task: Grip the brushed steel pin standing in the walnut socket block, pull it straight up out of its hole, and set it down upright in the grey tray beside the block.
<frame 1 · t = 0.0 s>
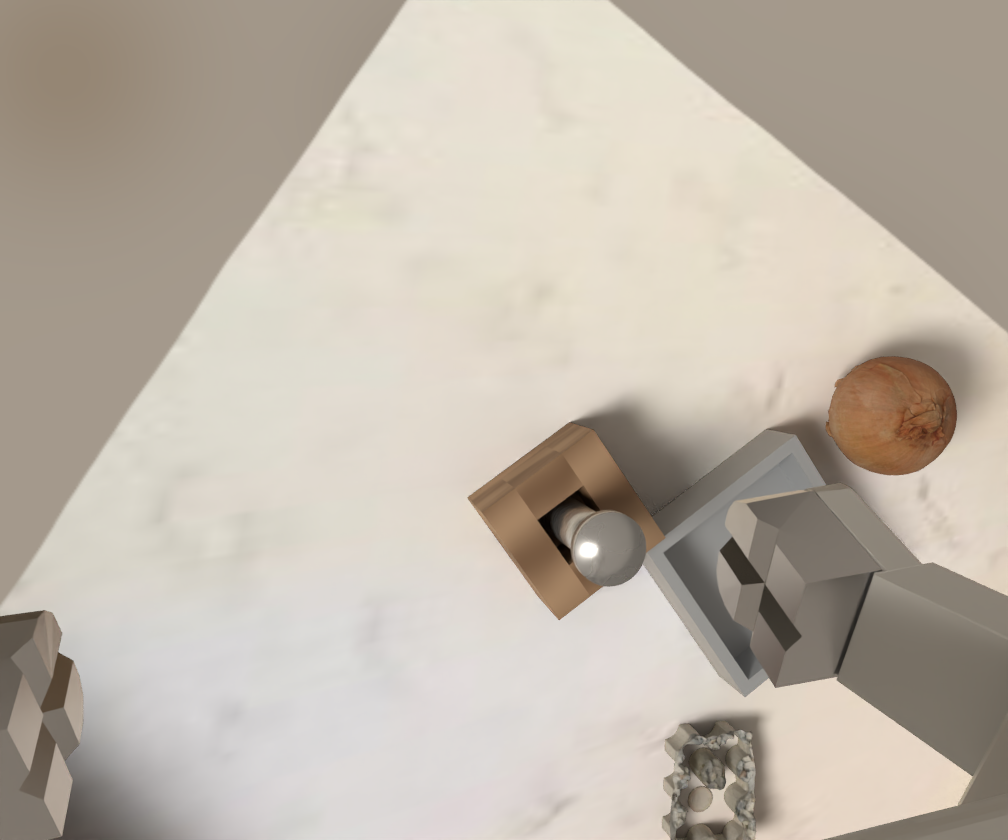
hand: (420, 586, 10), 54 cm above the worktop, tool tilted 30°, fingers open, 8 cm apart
onion: (852, 410, 73), on the worktop
grey tray: (742, 553, 72), on the worktop
egg carton: (696, 777, 73), on the worktop
socket block: (553, 509, 68), on the worktop
steel pin: (559, 513, 66), point 1 cm above the worktop, touching socket block
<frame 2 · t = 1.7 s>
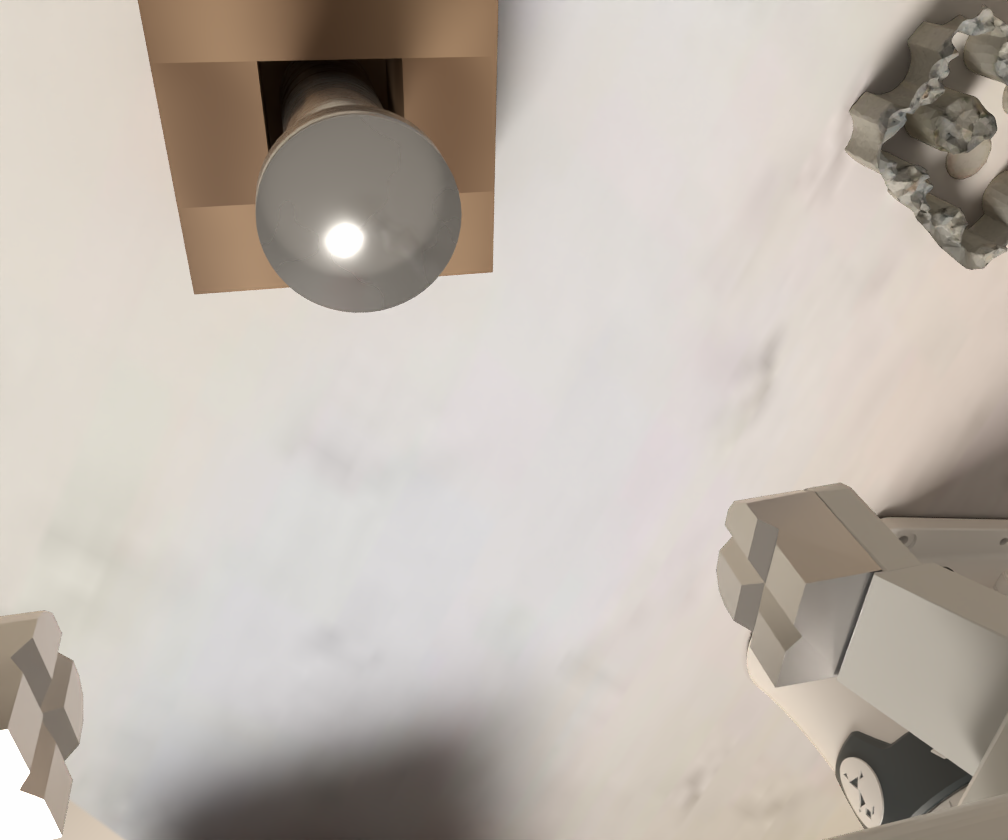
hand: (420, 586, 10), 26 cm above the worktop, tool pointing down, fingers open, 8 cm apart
egg carton: (939, 134, 39), on the worktop
socket block: (324, 87, 31), on the worktop
steel pin: (326, 97, 30), point 2 cm above the worktop, touching socket block
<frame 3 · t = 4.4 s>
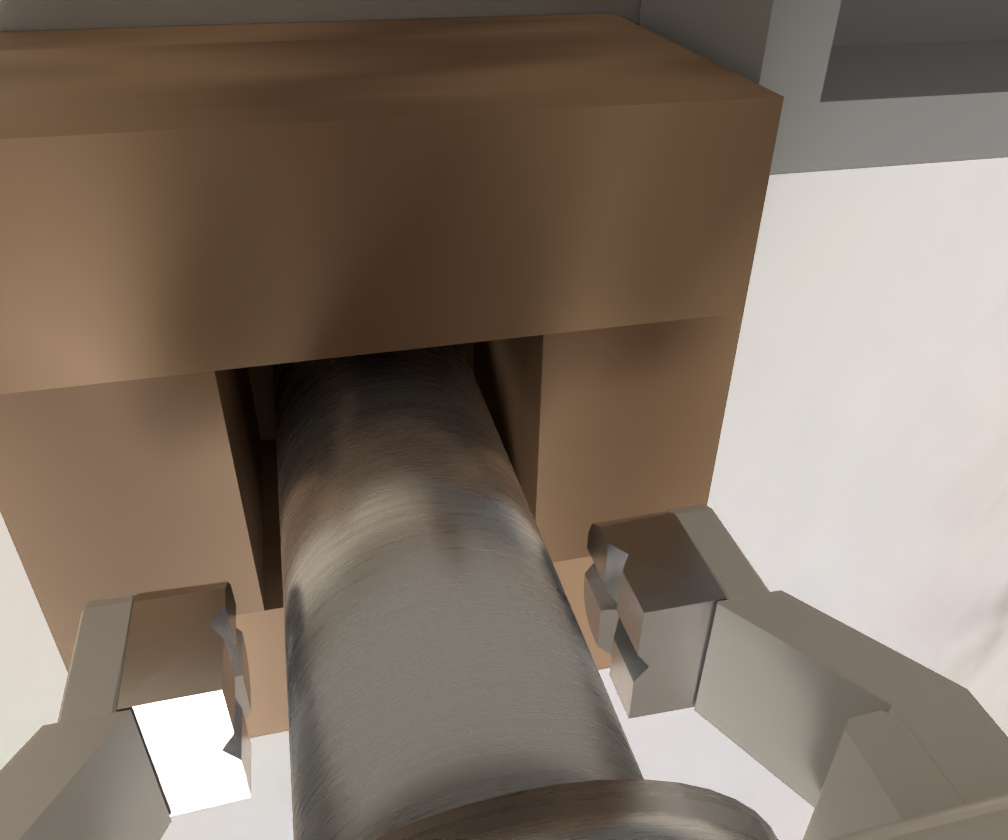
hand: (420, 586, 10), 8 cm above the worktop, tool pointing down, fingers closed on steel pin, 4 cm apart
socket block: (353, 296, 17), on the worktop
steel pin: (361, 332, 16), point 2 cm above the worktop, touching gripper, socket block
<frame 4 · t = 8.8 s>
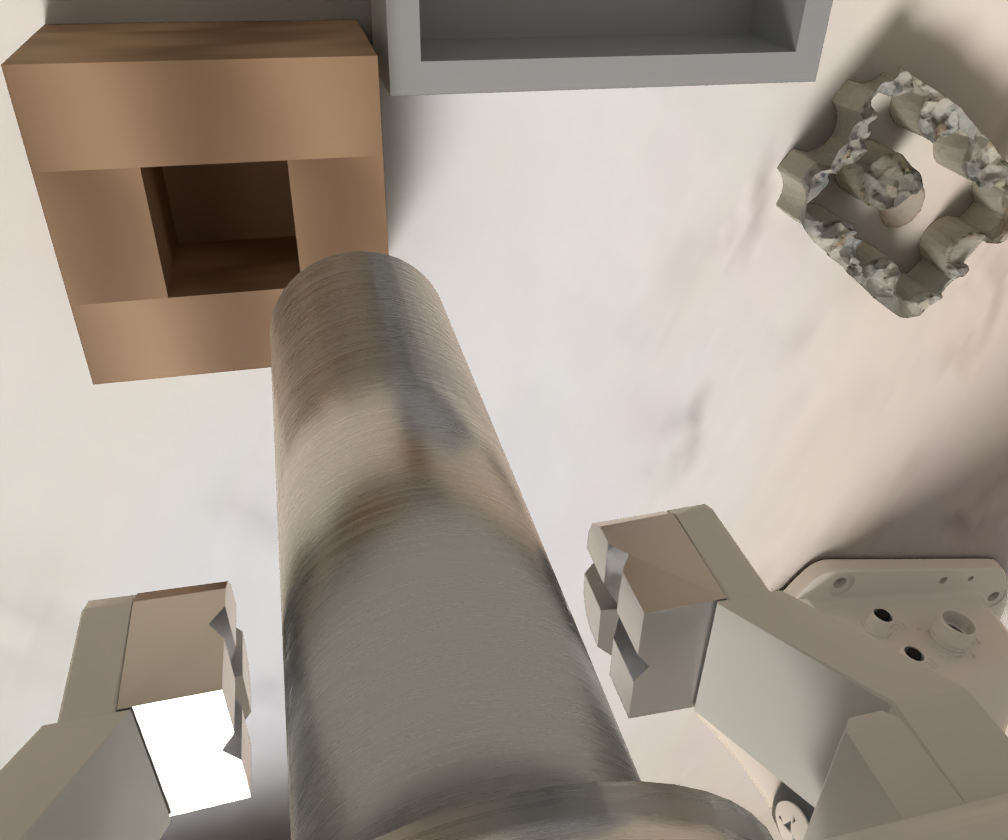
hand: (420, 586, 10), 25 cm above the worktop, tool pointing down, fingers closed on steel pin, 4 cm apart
egg carton: (872, 185, 39), on the worktop
socket block: (229, 170, 31), on the worktop
steel pin: (360, 333, 16), point 19 cm above the worktop, touching gripper
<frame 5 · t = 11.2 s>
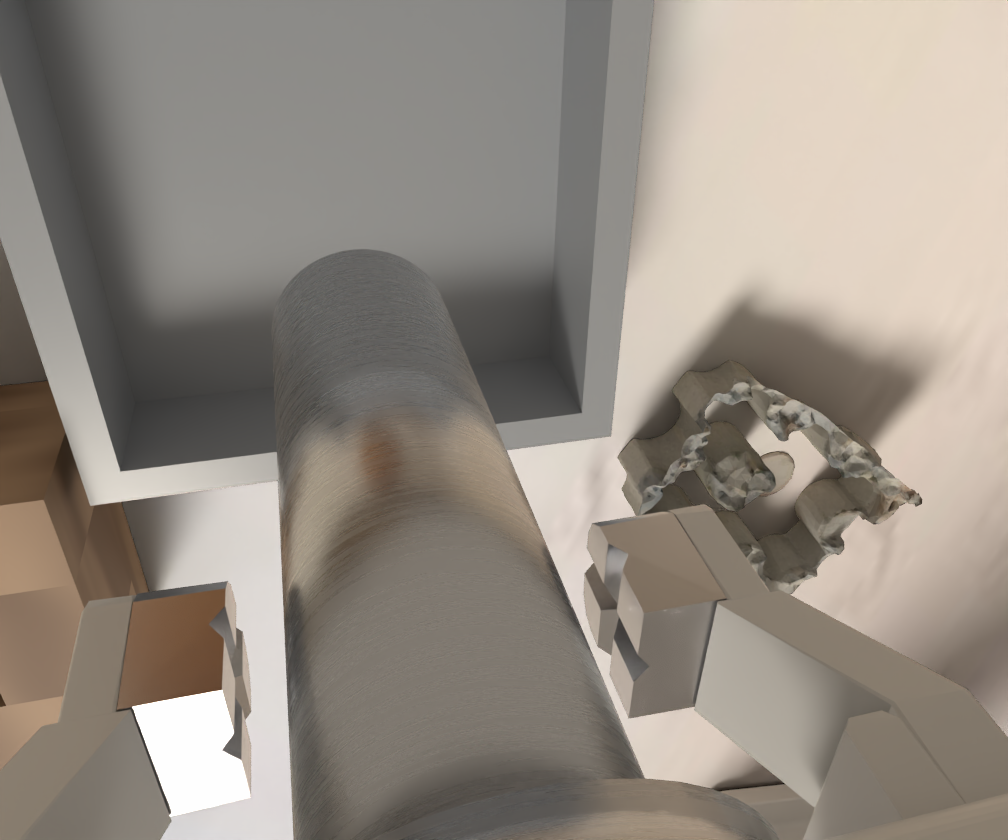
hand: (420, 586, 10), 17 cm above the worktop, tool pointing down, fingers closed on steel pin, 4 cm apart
grey tray: (328, 164, 24), on the worktop
egg carton: (733, 457, 35), on the worktop
steel pin: (361, 331, 16), point 11 cm above the worktop, touching gripper
when the fingers open (9 cm above the worktop, at t = 13.4 s): steel pin drops 1 cm, resting on grey tray.
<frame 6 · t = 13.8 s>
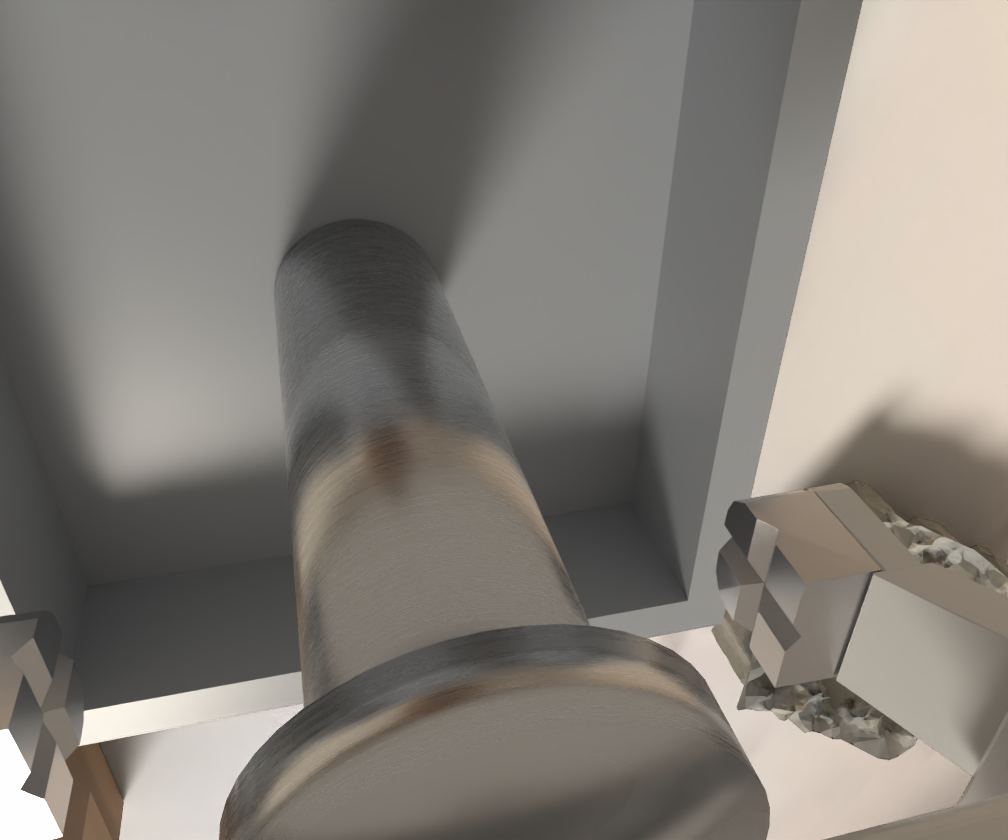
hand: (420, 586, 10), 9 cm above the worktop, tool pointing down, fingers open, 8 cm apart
grey tray: (348, 275, 18), on the worktop
egg carton: (845, 584, 28), on the worktop
steel pin: (357, 296, 17), point 1 cm above the worktop, touching grey tray
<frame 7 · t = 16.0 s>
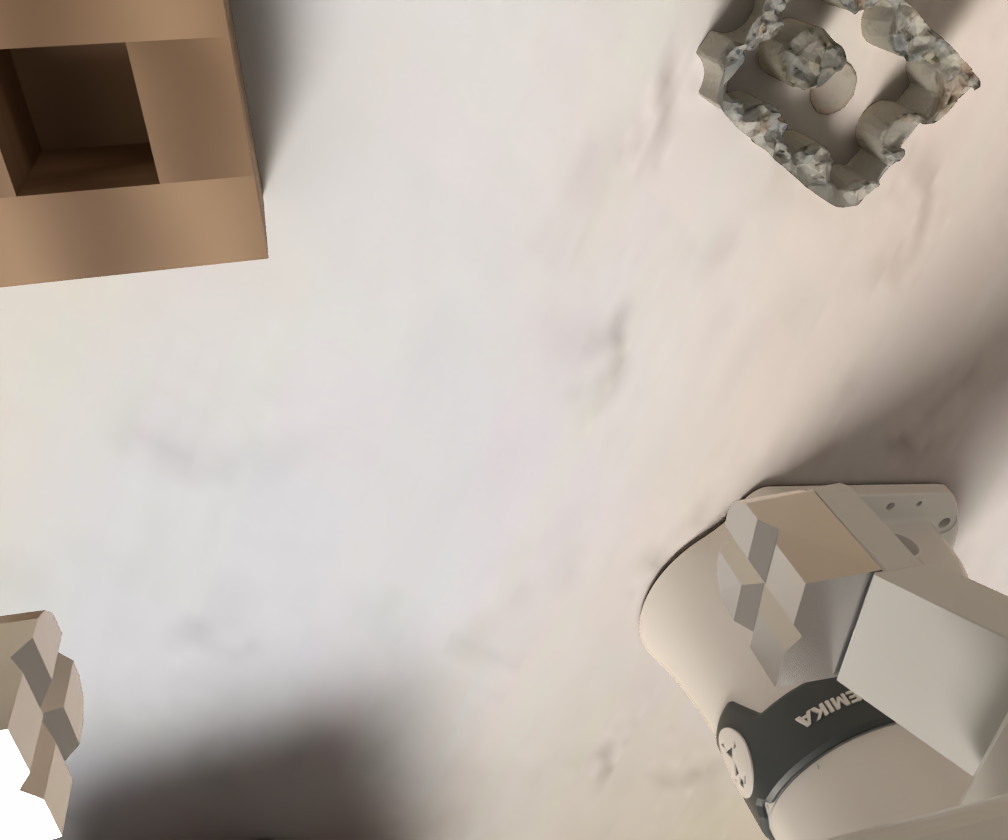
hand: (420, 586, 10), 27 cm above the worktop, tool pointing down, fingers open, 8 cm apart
egg carton: (800, 69, 37), on the worktop
socket block: (94, 73, 30), on the worktop
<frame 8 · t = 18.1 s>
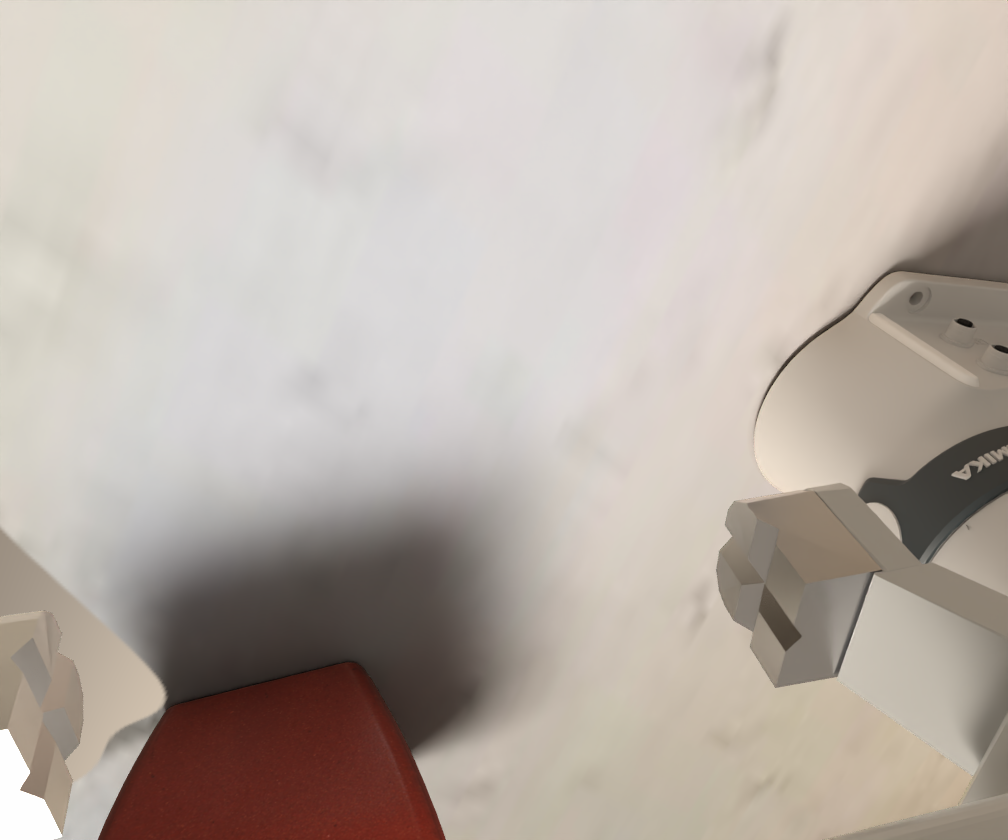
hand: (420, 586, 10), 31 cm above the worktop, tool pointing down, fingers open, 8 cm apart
plant pot: (286, 734, 59), on the worktop
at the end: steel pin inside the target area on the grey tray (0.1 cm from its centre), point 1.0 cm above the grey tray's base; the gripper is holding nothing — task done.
